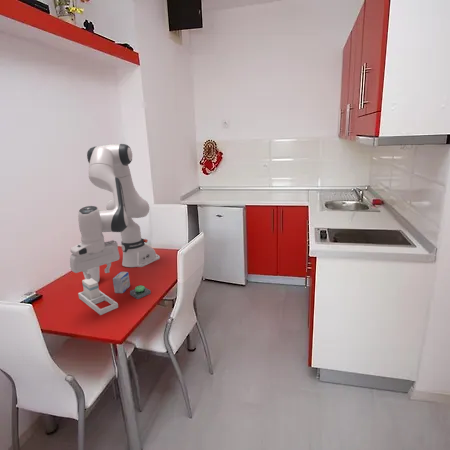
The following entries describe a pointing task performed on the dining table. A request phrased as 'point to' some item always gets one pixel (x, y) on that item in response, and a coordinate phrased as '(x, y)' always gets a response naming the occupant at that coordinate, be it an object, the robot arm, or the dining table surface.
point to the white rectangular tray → (97, 300)
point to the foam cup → (93, 273)
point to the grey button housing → (141, 294)
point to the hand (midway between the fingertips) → (98, 275)
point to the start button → (139, 288)
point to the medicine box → (121, 282)
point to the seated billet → (91, 288)
